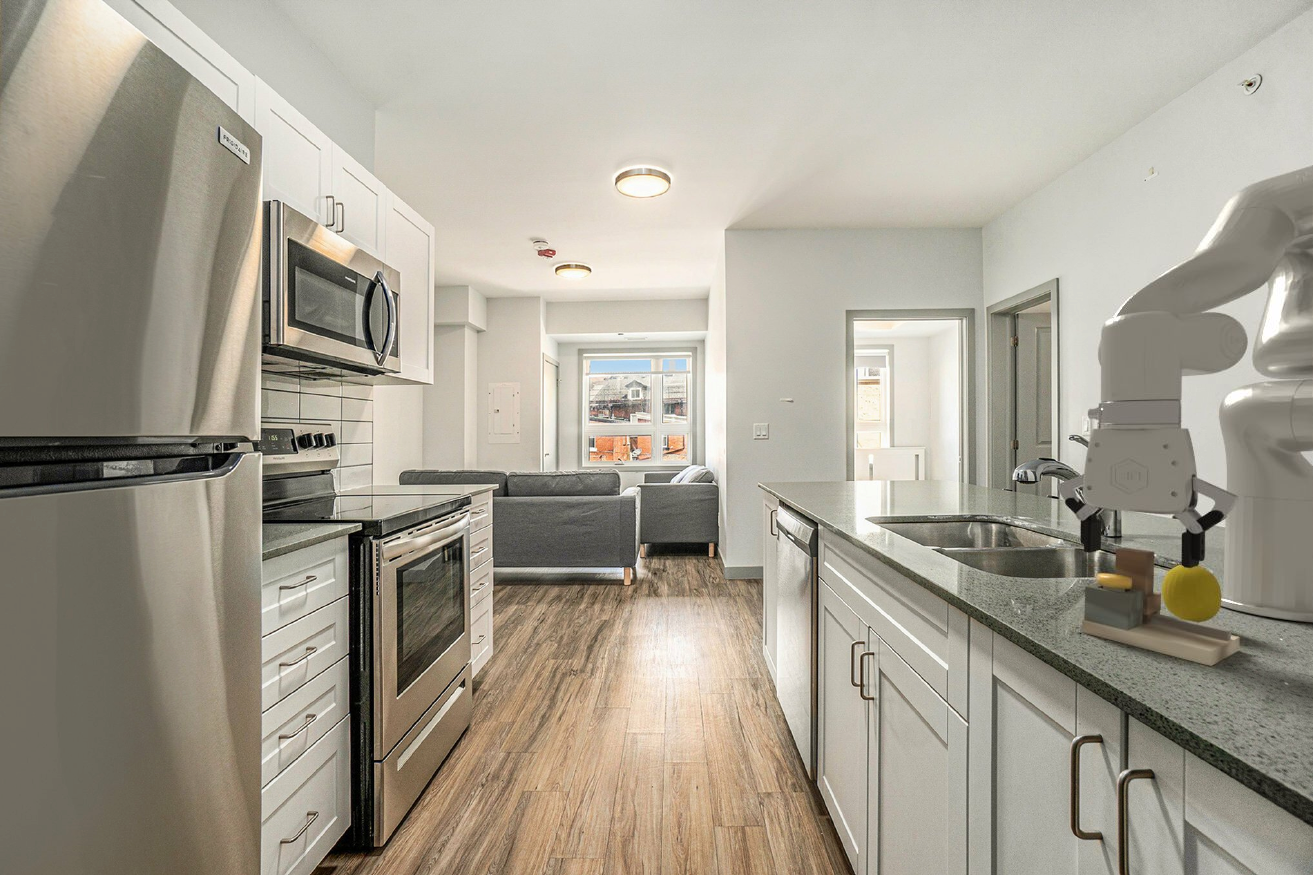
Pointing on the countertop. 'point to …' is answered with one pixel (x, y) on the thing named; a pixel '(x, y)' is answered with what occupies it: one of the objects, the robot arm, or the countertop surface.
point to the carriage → (1140, 576)
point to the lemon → (1191, 593)
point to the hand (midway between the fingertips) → (1138, 558)
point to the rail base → (1153, 627)
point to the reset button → (1114, 582)
